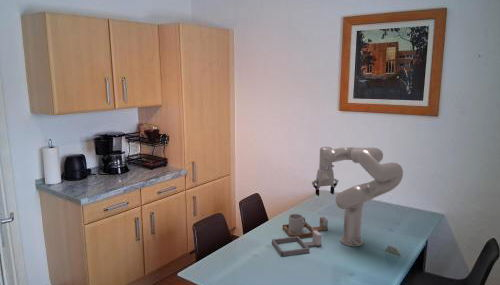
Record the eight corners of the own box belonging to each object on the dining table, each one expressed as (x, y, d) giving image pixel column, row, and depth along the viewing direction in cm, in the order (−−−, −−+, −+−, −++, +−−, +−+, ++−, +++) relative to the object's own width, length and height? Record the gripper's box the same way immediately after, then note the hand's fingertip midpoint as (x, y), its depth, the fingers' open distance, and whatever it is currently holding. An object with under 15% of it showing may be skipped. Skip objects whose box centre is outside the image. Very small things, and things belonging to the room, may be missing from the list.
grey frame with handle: (326, 250, 204) (326, 238, 203) (281, 256, 198) (281, 243, 196) (313, 238, 219) (314, 226, 218) (271, 243, 213) (272, 231, 212)
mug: (295, 237, 221) (295, 220, 219) (285, 232, 227) (285, 215, 225) (309, 232, 228) (310, 215, 226) (299, 228, 234) (300, 211, 232)
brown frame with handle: (332, 234, 225) (332, 223, 223) (291, 239, 218) (292, 227, 217) (320, 224, 240) (321, 213, 239) (282, 228, 233) (282, 217, 232)
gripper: (335, 165, 230) (334, 191, 233) (309, 166, 226) (309, 194, 229) (341, 167, 223) (340, 195, 226) (315, 169, 219) (314, 197, 222)
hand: (324, 194), depth 227 cm, fingers open, 9 cm apart
